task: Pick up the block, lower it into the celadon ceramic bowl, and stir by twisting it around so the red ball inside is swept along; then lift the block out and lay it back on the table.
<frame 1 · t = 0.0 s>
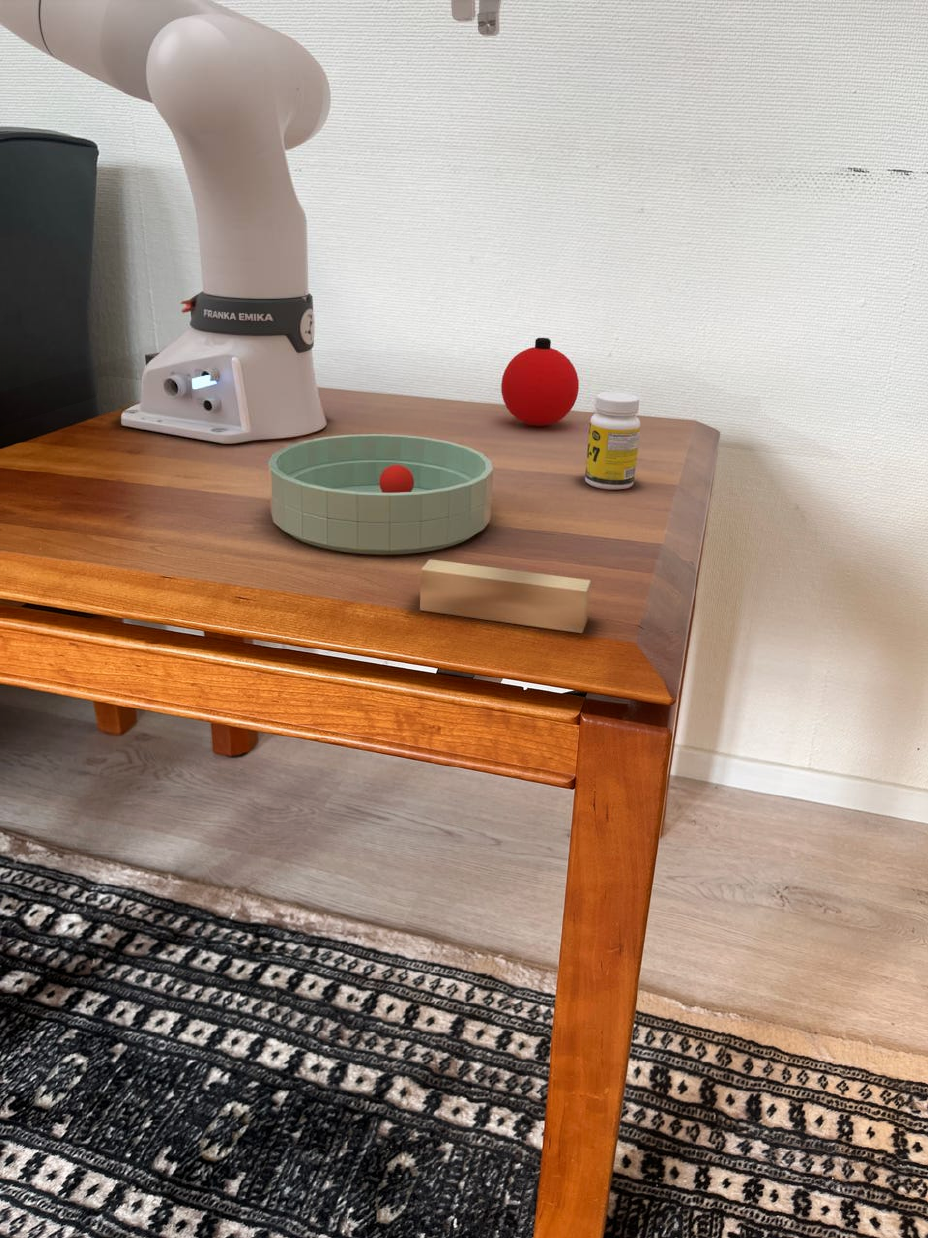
hand: (477, 28, 90), 39 cm above the table, tool pointing down, fingers open, 8 cm apart
ball: (396, 482, 86), point 2 cm above the table, touching bowl
block: (502, 616, 66), on the table
ornament: (537, 426, 116), on the table
bowl: (381, 519, 83), on the table
supplement bottle: (608, 485, 95), on the table
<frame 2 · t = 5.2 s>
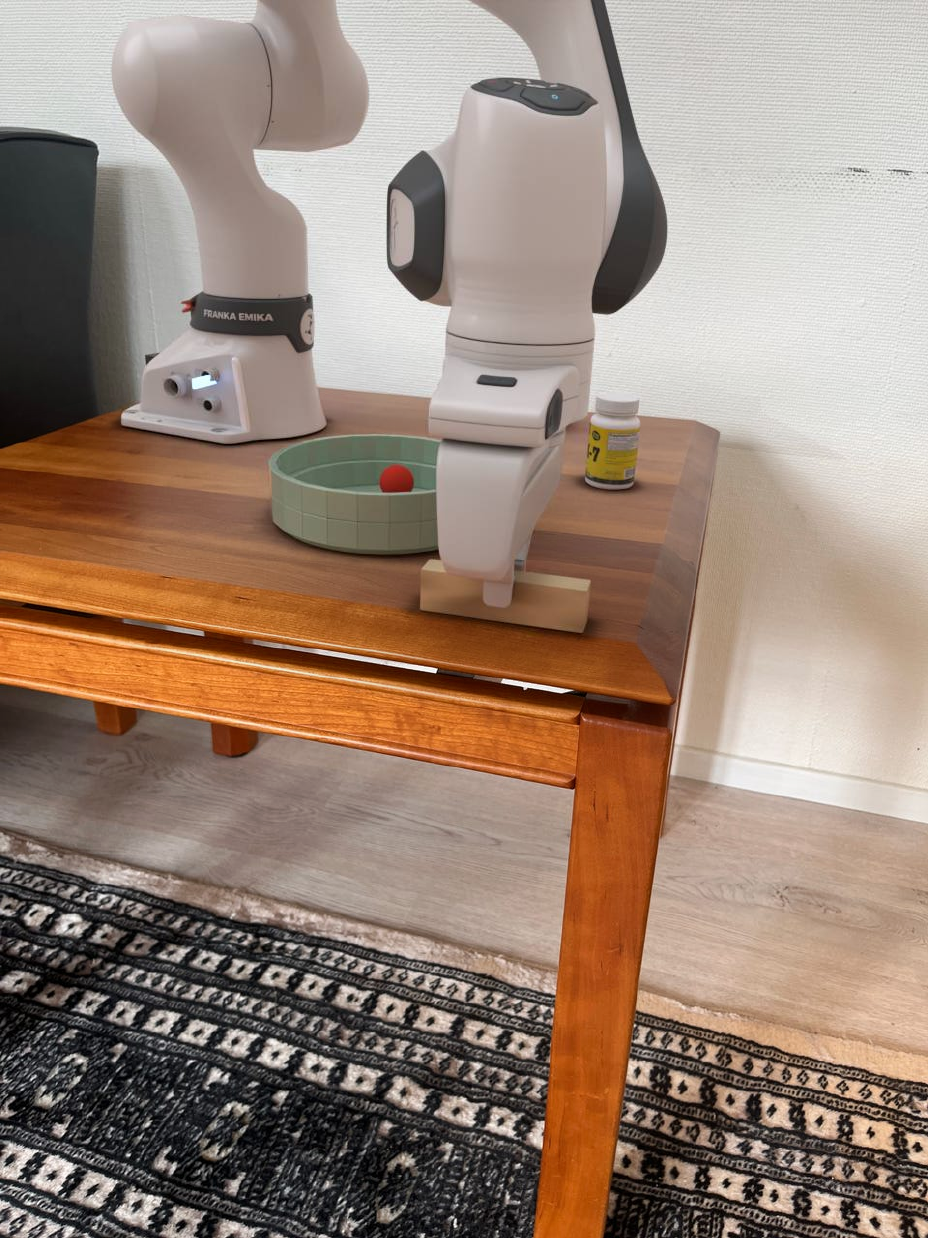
hand: (504, 593, 65), 2 cm above the table, tool pointing down, fingers closed on block, 2 cm apart
block: (503, 616, 66), on the table, touching gripper
everything else where it was.
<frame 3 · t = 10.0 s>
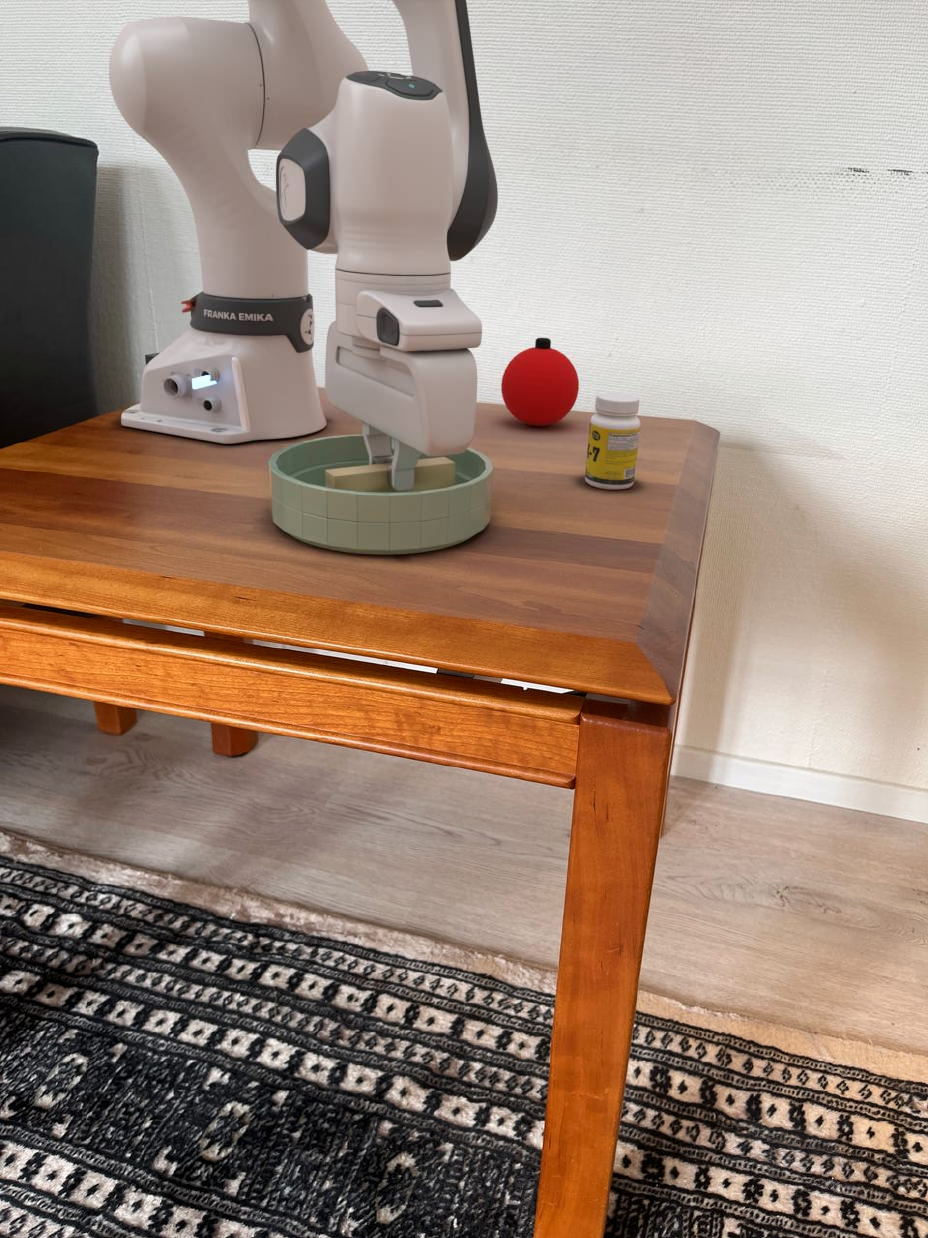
hand: (391, 482, 82), 3 cm above the table, tool pointing down, fingers closed on block, 2 cm apart
ball: (390, 481, 86), point 2 cm above the table, tilted 22°, touching bowl, gripper
block: (391, 500, 83), point 2 cm above the table, touching gripper
everything else where it was.
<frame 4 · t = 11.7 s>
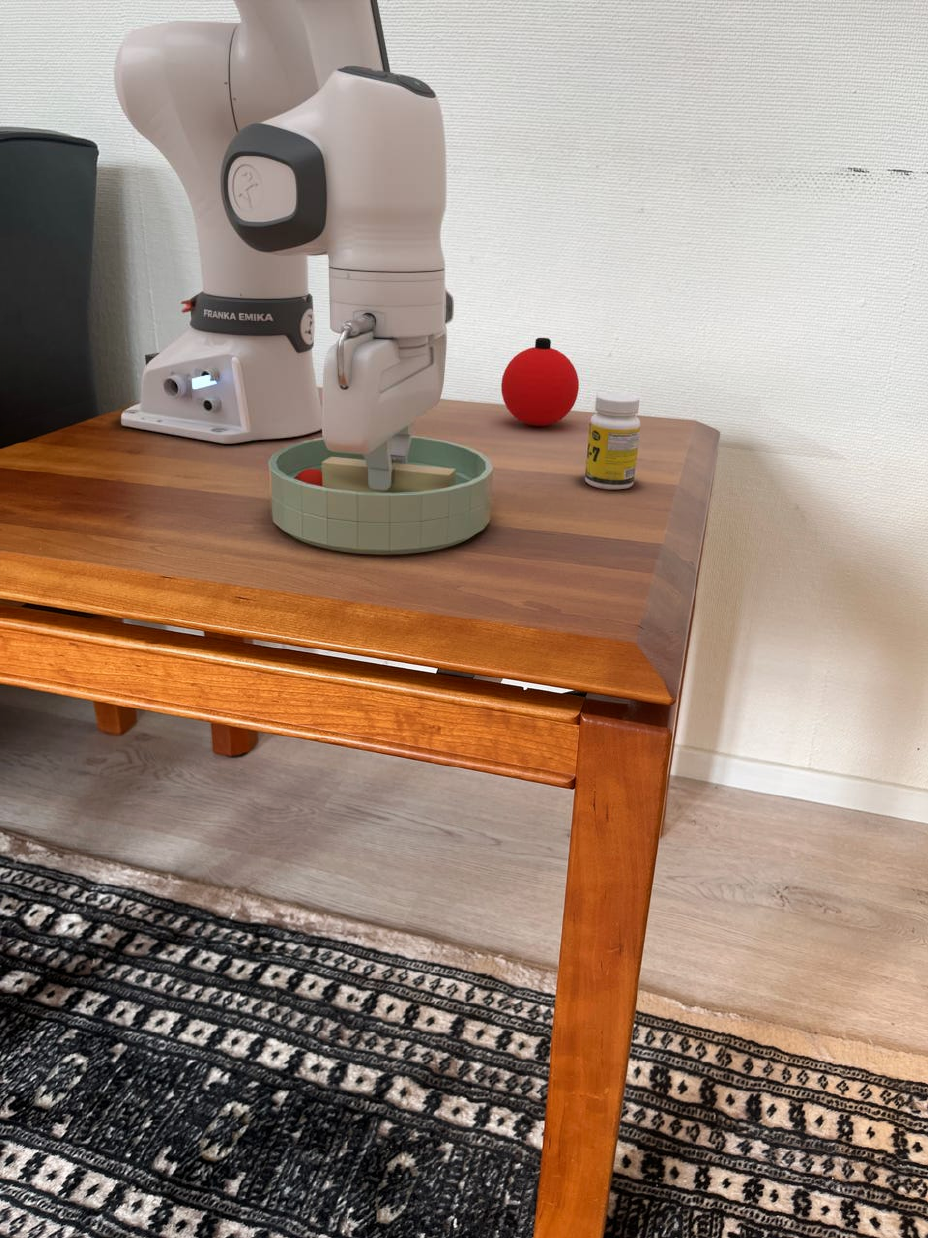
hand: (388, 482, 81), 3 cm above the table, tool pointing down, fingers closed on block, 2 cm apart
ball: (311, 486, 84), point 2 cm above the table, tilted 109°, touching bowl, block
block: (388, 500, 82), point 2 cm above the table, touching ball, gripper
everything else where it was.
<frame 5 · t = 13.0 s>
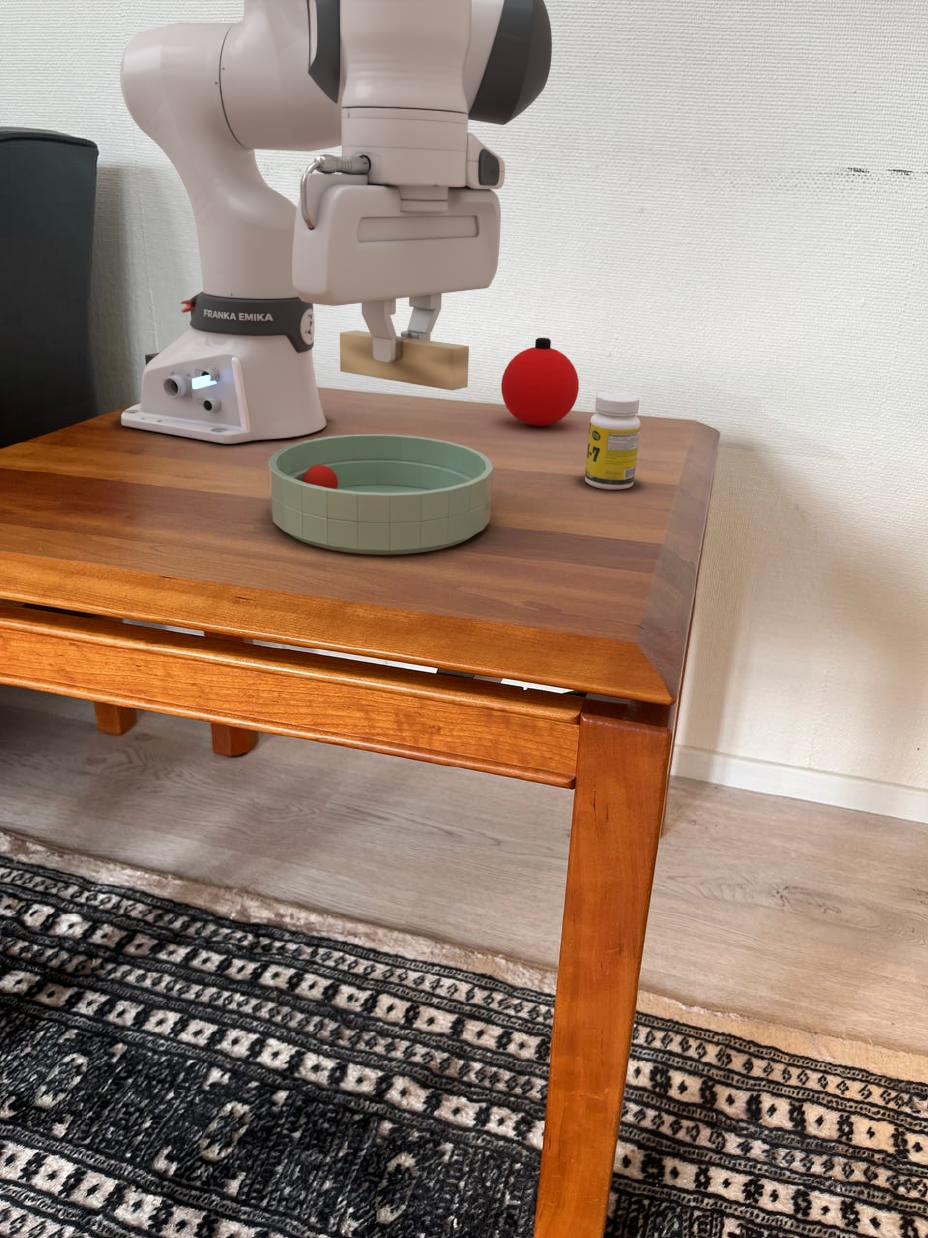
hand: (402, 358, 75), 14 cm above the table, tool pointing down, fingers closed on block
ball: (320, 482, 85), point 2 cm above the table, tilted 96°, touching bowl
block: (402, 379, 76), point 12 cm above the table, touching gripper
everything else where it was.
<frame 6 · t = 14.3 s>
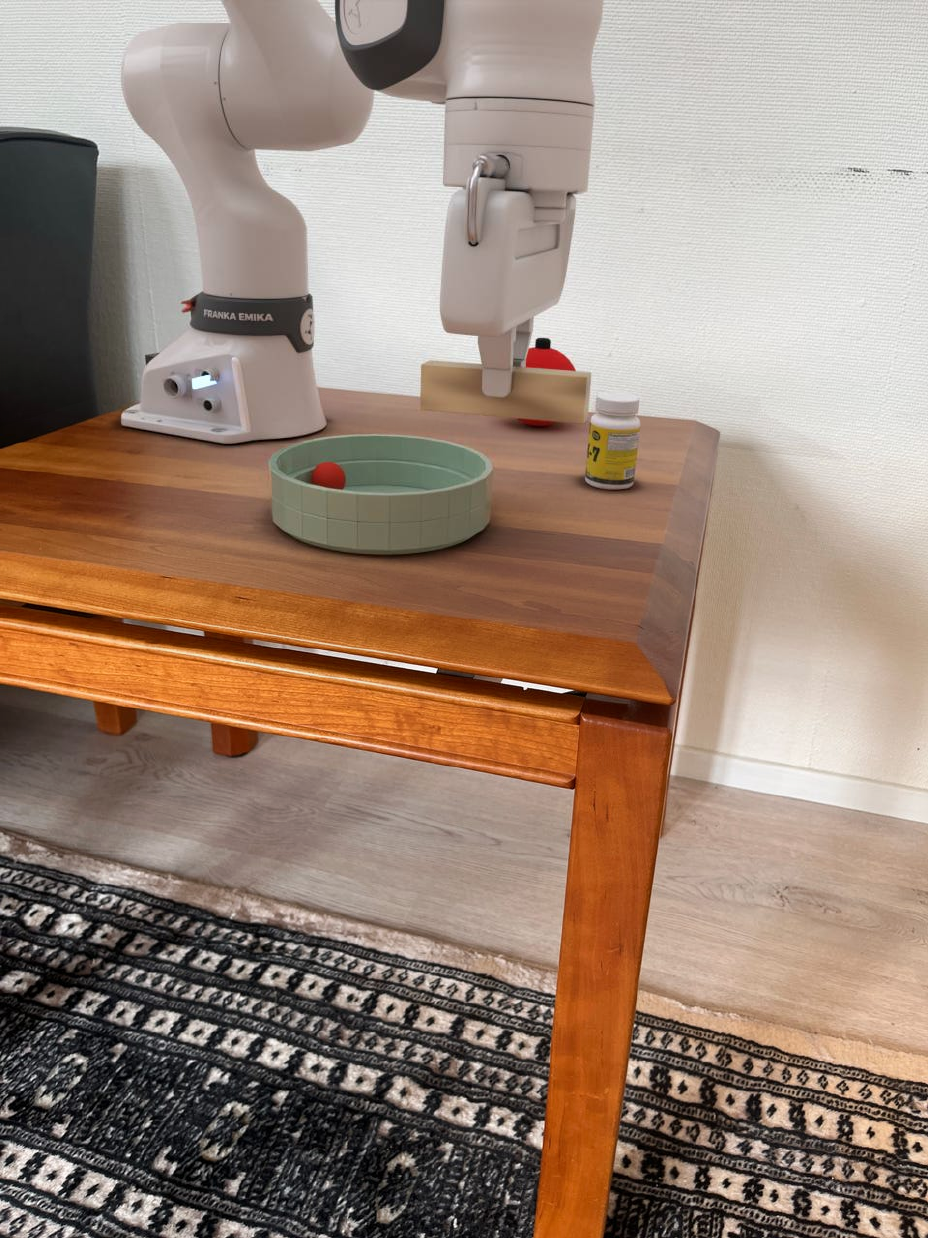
hand: (503, 390, 65), 14 cm above the table, tool pointing down, fingers closed on block
ball: (328, 479, 86), point 2 cm above the table, tilted 110°, touching bowl
block: (503, 414, 66), point 12 cm above the table, touching gripper
everything else where it was.
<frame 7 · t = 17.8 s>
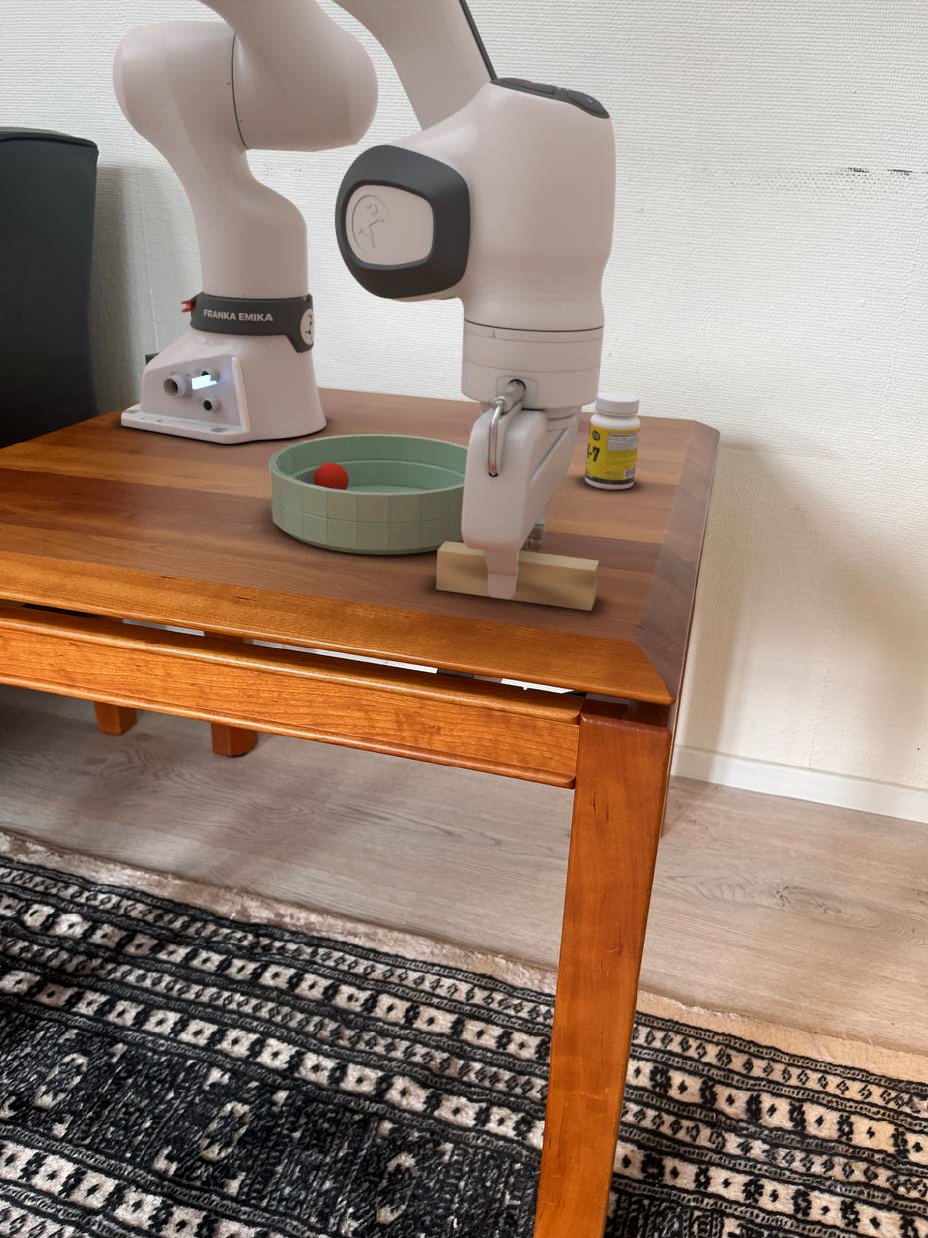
hand: (517, 569, 69), 2 cm above the table, tool pointing down, fingers open, 8 cm apart
ball: (331, 480, 85), point 2 cm above the table, tilted 123°, touching bowl
block: (515, 595, 69), on the table
everything else where it was.
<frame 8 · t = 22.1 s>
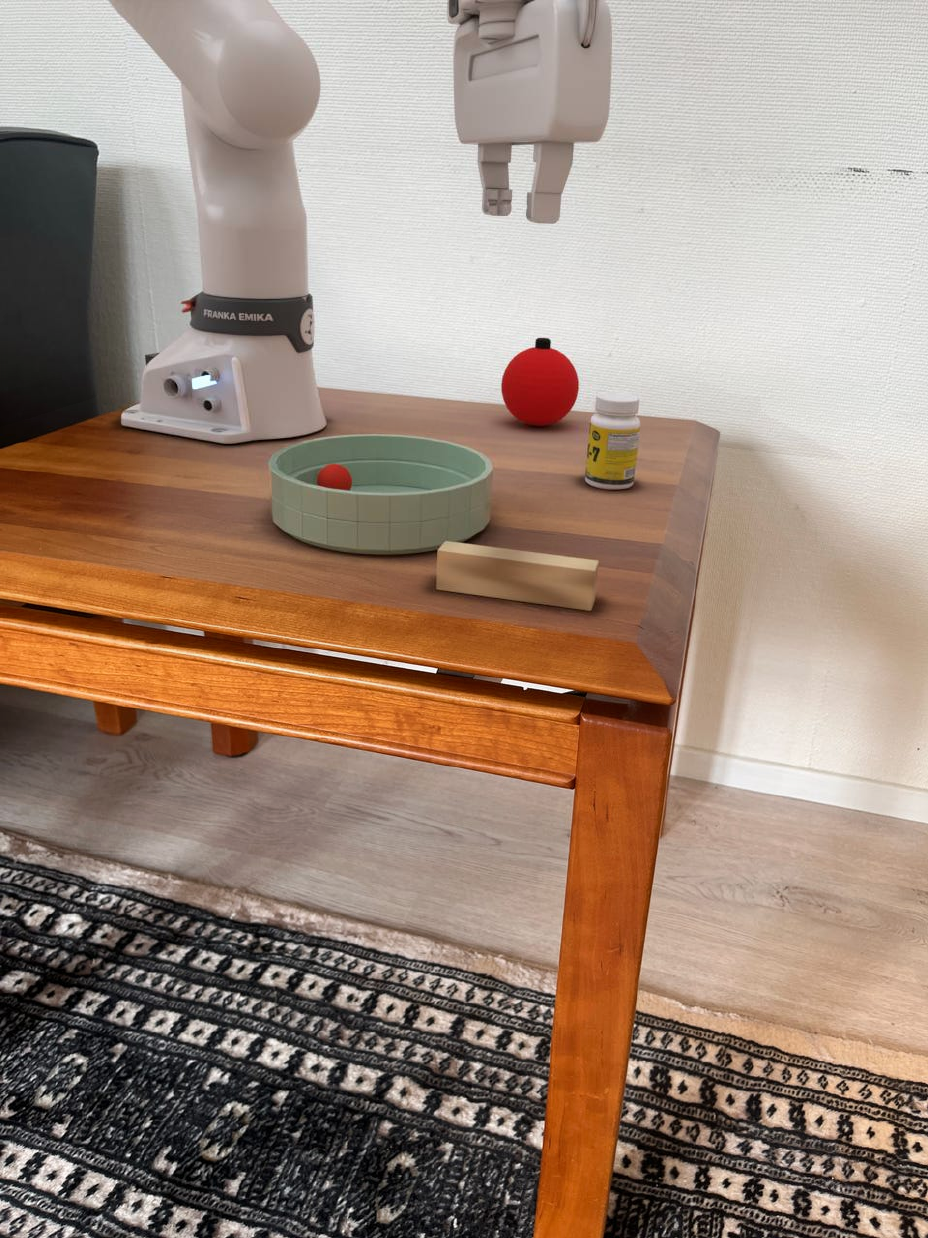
hand: (517, 219, 67), 24 cm above the table, tool pointing down, fingers open, 8 cm apart
ball: (334, 481, 85), point 2 cm above the table, tilted 137°, touching bowl
everything else where it was.
at the end: ball moved 5.3 cm from its start; ball inside the target area in the bowl (5.5 cm from its centre), point 2.1 cm above the bowl's base; block inside the target area (0.2 cm from its centre), on the table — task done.
